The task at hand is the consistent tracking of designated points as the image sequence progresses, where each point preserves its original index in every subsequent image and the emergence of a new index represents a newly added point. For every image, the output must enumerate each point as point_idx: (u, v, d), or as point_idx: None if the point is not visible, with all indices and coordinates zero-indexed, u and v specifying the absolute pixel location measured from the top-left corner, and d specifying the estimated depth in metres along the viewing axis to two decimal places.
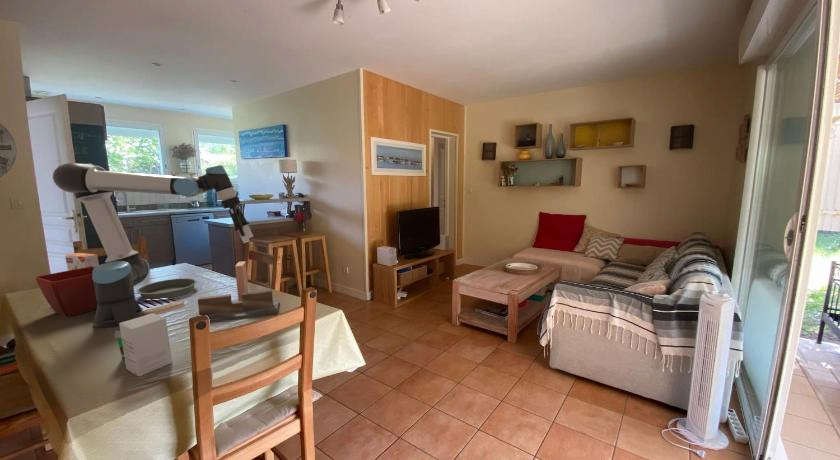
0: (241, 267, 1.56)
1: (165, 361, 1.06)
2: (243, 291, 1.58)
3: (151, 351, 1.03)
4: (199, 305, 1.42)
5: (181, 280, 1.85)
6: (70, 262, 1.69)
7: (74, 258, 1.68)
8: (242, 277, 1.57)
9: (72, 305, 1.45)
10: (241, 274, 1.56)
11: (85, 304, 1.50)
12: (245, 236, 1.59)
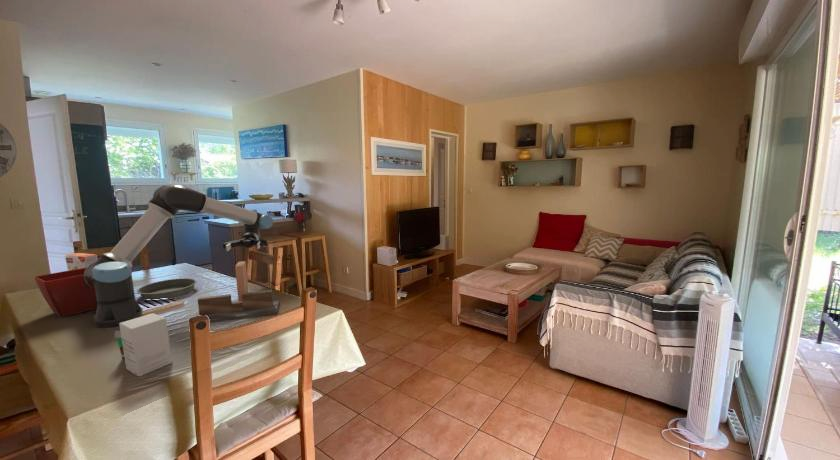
0: (241, 267, 1.56)
1: (165, 361, 1.06)
2: (243, 291, 1.58)
3: (151, 351, 1.03)
4: (199, 305, 1.42)
5: (181, 280, 1.85)
6: (70, 262, 1.69)
7: (74, 258, 1.68)
8: (242, 277, 1.57)
9: (66, 305, 1.44)
10: (241, 274, 1.56)
11: (81, 304, 1.48)
12: (259, 246, 1.73)
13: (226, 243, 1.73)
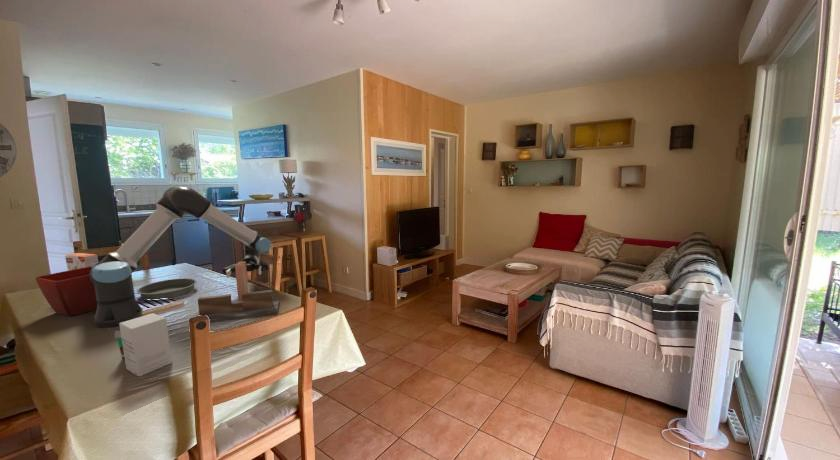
0: (241, 267, 1.56)
1: (165, 361, 1.06)
2: (243, 291, 1.58)
3: (151, 351, 1.03)
4: (199, 305, 1.42)
5: (181, 280, 1.85)
6: (70, 262, 1.69)
7: (74, 258, 1.68)
8: (242, 277, 1.57)
9: (75, 304, 1.46)
10: (241, 274, 1.56)
11: (88, 303, 1.50)
12: (261, 271, 1.67)
13: (226, 268, 1.67)
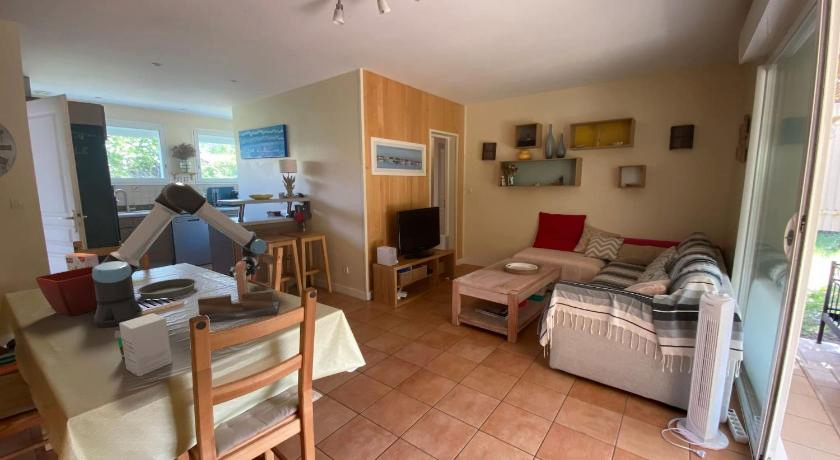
0: (241, 267, 1.56)
1: (165, 361, 1.06)
2: (243, 291, 1.58)
3: (151, 351, 1.03)
4: (199, 305, 1.42)
5: (181, 280, 1.85)
6: (70, 262, 1.69)
7: (74, 258, 1.68)
8: (242, 277, 1.57)
9: (77, 304, 1.46)
10: (241, 274, 1.56)
11: (89, 303, 1.50)
12: (245, 276, 1.59)
13: (232, 271, 1.62)
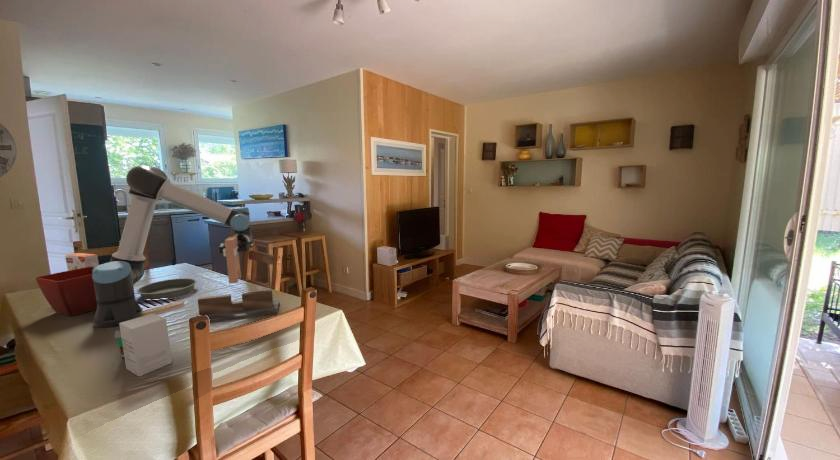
0: (231, 241, 1.39)
1: (165, 361, 1.06)
2: (234, 269, 1.41)
3: (151, 351, 1.03)
4: (199, 305, 1.42)
5: (181, 280, 1.85)
6: (70, 262, 1.69)
7: (74, 258, 1.68)
8: (233, 253, 1.40)
9: (77, 304, 1.46)
10: (231, 249, 1.40)
11: (89, 303, 1.50)
12: (237, 252, 1.42)
13: (222, 246, 1.45)
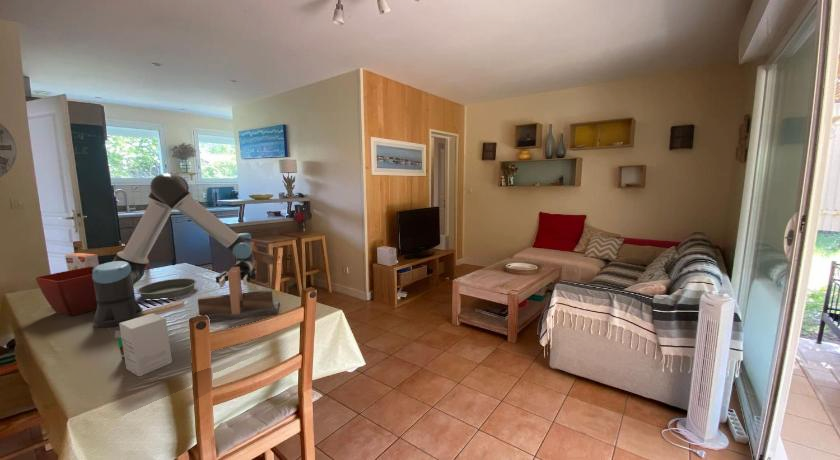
0: (234, 273, 1.41)
1: (165, 361, 1.06)
2: (237, 300, 1.43)
3: (151, 351, 1.03)
4: (199, 305, 1.42)
5: (181, 280, 1.85)
6: (70, 262, 1.69)
7: (74, 258, 1.68)
8: (235, 284, 1.42)
9: (77, 304, 1.46)
10: (234, 281, 1.42)
11: (89, 303, 1.50)
12: (246, 281, 1.45)
13: (219, 276, 1.47)
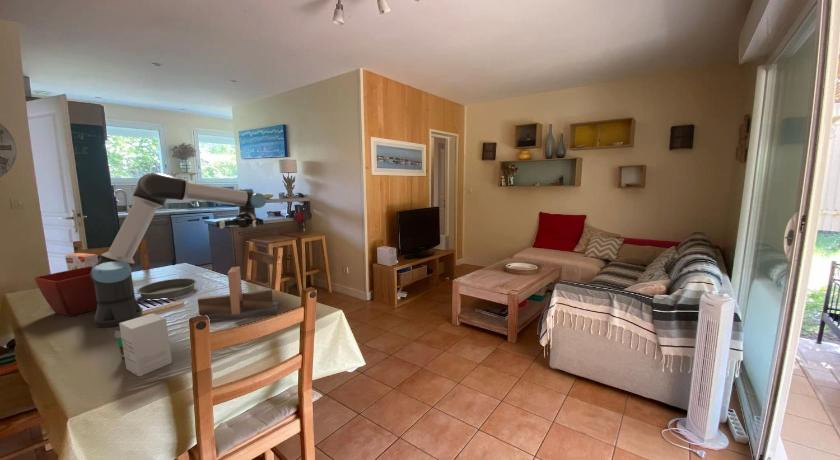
0: (234, 273, 1.41)
1: (165, 361, 1.06)
2: (237, 300, 1.43)
3: (151, 351, 1.03)
4: (199, 305, 1.42)
5: (181, 280, 1.85)
6: (70, 262, 1.69)
7: (74, 258, 1.68)
8: (235, 284, 1.42)
9: (75, 304, 1.46)
10: (234, 281, 1.42)
11: (88, 303, 1.50)
12: (255, 224, 1.63)
13: (220, 221, 1.63)
